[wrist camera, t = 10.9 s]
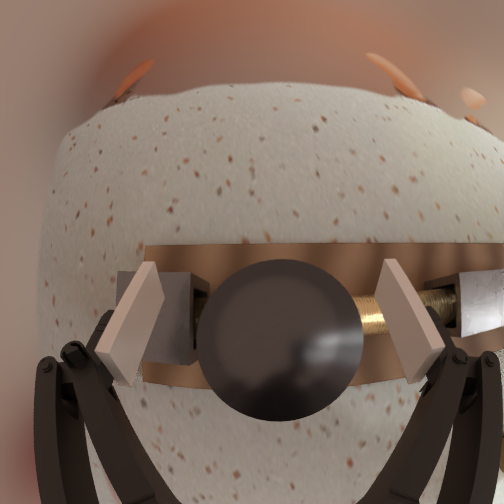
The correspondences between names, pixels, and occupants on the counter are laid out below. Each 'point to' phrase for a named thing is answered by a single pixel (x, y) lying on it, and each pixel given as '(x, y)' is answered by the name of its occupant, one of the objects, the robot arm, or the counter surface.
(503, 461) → the squeeze bottle
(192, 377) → the base board
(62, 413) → the robot arm
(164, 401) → the counter surface
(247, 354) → the sliding bolt
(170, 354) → the socket
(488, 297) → the outer sleeve
